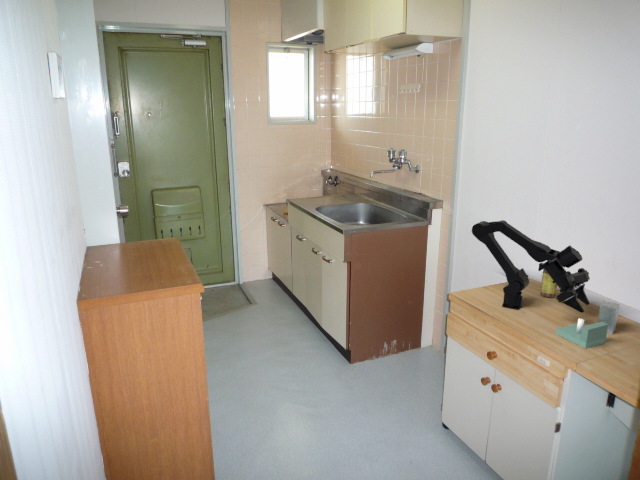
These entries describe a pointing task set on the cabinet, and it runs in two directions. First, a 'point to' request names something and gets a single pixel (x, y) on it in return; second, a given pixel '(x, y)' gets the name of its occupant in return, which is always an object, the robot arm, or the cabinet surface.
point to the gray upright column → (609, 315)
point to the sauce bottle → (548, 285)
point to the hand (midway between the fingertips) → (585, 308)
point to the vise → (584, 333)
